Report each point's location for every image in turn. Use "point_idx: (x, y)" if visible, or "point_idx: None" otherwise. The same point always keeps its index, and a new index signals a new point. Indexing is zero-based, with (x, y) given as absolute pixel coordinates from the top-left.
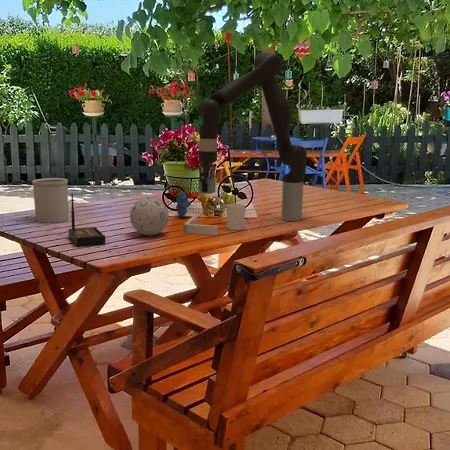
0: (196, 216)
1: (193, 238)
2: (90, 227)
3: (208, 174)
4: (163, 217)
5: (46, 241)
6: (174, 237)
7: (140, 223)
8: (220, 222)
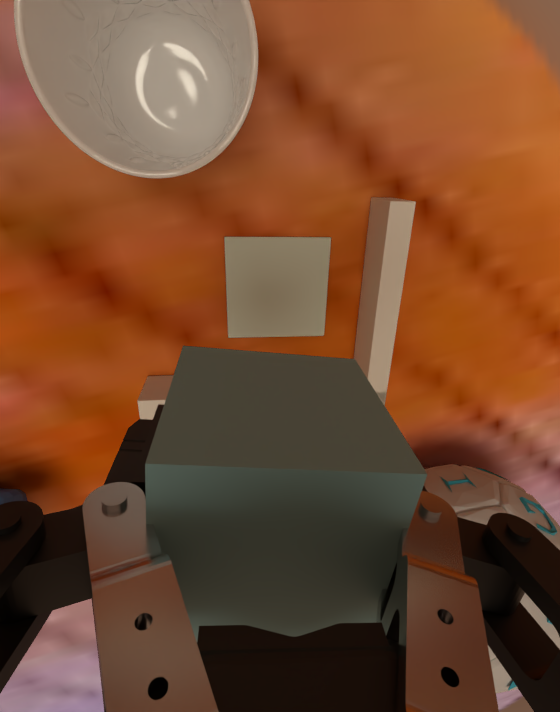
0: (139, 403)
1: (477, 309)
2: None
3: (476, 632)
4: (527, 504)
5: None
6: (460, 396)
7: None
8: (19, 253)
